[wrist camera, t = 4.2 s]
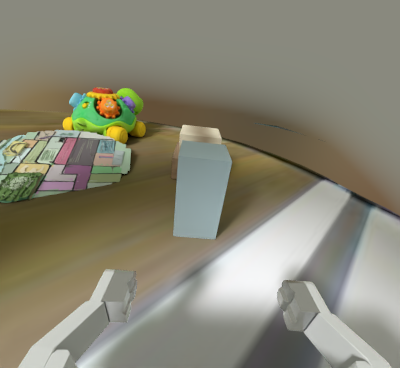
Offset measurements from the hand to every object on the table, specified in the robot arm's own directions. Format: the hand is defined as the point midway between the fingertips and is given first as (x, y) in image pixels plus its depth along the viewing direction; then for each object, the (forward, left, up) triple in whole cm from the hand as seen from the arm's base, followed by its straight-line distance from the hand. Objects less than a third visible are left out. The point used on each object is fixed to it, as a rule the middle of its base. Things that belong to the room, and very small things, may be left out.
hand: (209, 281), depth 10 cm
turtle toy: (-24, +47, -7) cm, 54 cm away
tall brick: (0, +12, -7) cm, 14 cm away
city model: (-24, +24, -7) cm, 35 cm away
